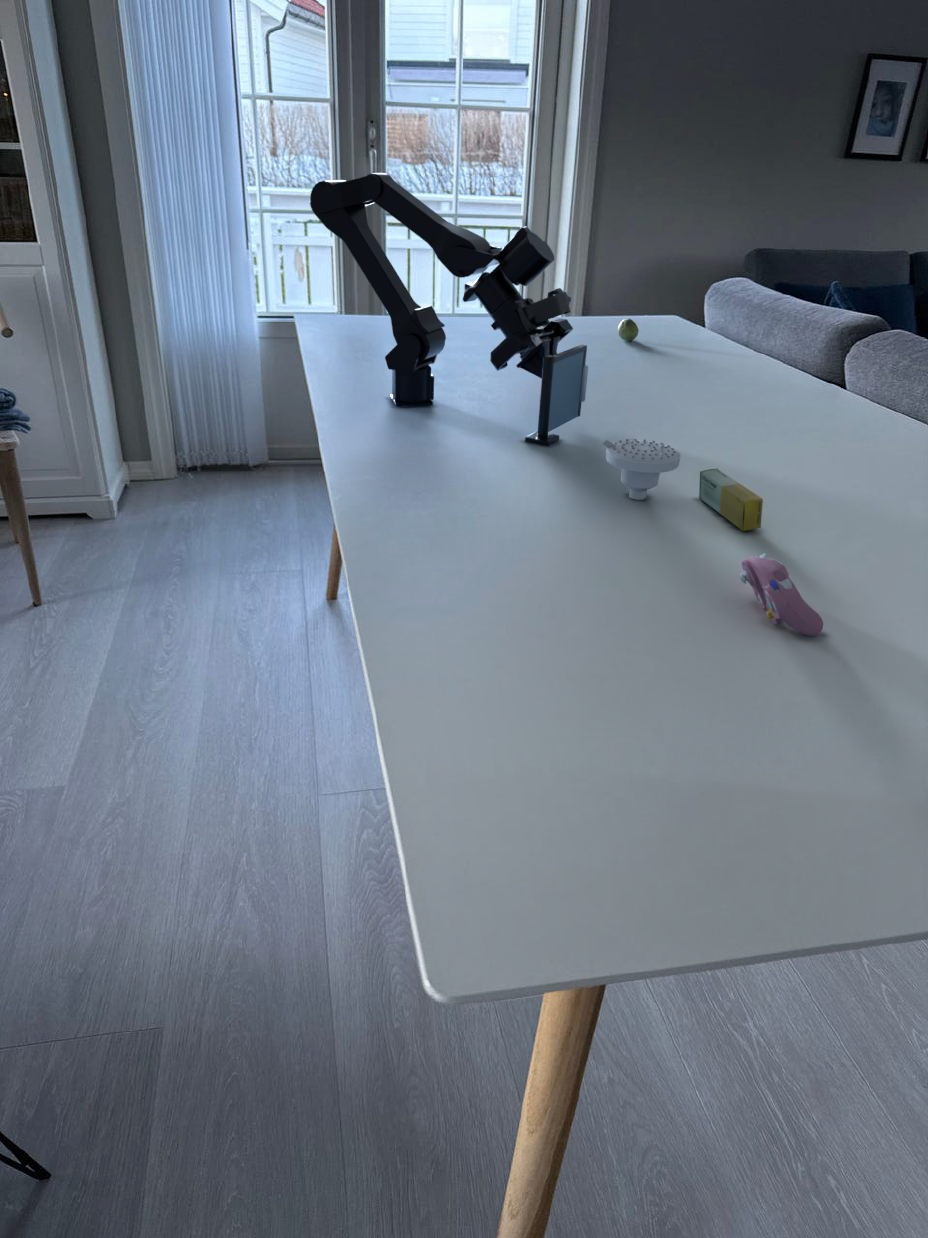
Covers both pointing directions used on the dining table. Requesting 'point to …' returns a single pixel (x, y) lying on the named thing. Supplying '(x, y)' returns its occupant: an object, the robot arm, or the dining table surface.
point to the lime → (628, 330)
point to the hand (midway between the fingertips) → (563, 386)
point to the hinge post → (544, 407)
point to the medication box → (731, 499)
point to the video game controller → (780, 595)
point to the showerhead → (641, 463)
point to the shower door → (568, 386)
